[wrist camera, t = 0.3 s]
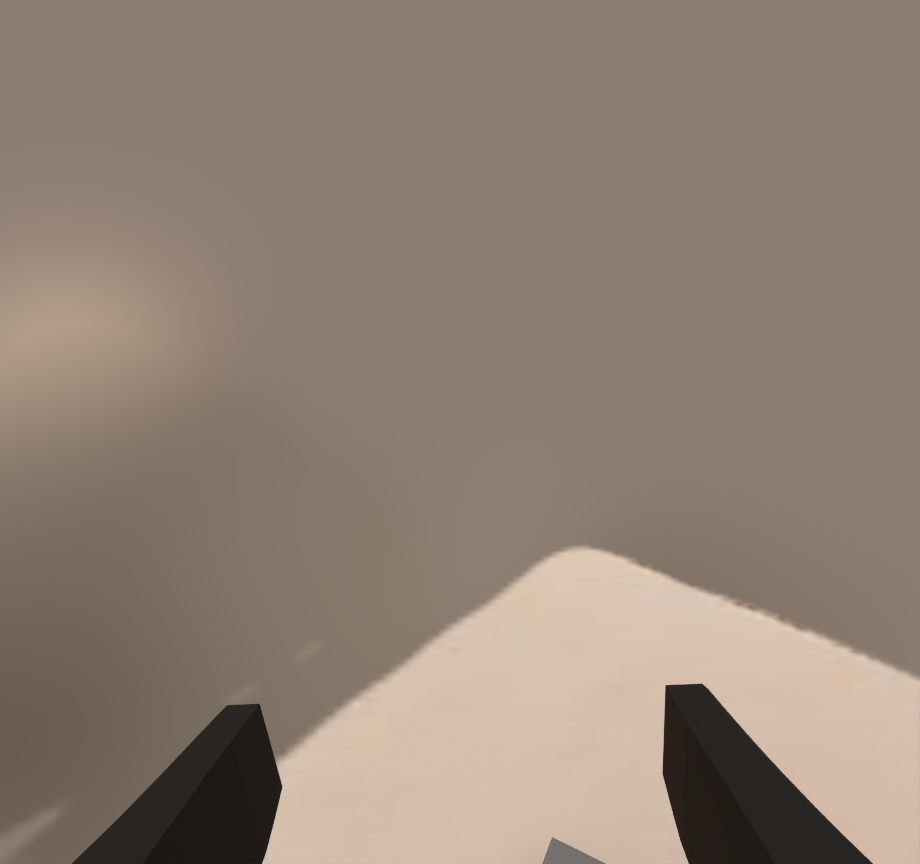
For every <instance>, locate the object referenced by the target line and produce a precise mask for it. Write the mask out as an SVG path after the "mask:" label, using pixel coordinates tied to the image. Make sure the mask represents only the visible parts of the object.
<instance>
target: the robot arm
mask: <svg viewBox="0 0 920 864" xmlns="http://www.w3.org/2000/svg"><path fill="white" fill-rule="evenodd" d="M663 777H664V780H665V784H666V788H667V792H668V796H669V800H670V803H671V807H672V811H673V815H674V818H675V822H676V826H677V829H678V833H679V837H680V840H681V843H682V846H683V849H684V852H685V854H686V857H687V860H688V863H689V864H873V863H872V862H871V861H870V860H869V859H867V858H866V857H865V856H864V855H863V854H862V853H861V852H860V851H859V850H858V849H857V848H856V847H855V846H854V845H853V844H852V843H851V842H850V841H849V840H848V839H847V838H846V837H845V836H844V835H843V834H842V833H841V832H840V831H839V830H838V829H837V828H836V827H835V826H834V825H833V824H832V823H831V822H830V821H829V820H828V819H827V818H826V817H825V816H824V815H823V814H822V813H821V812H820V811H819V810H818V809H817V808H816V807H815V806H814V805H813V804H812V803H811V802H810V801H809V800H808V799H807V798H806V797H805V796H804V795H803V794H802V793H801V792H800V791H799V790H798V789H797V787H796V786H795V785H794V784H793V783H792V782H791V781H790V780H789V779H788V778H787V777H786V776H785V775H784V774H783V773H782V772H781V771H780V770H779V769H778V767H777V766H776V765H775V764H774V763H773V762H772V761H771V760H770V759H769V758H768V757H767V756H766V754H765V753H764V752H763V751H762V750H761V749H760V748H759V747H758V746H757V744H756V743H755V742H754V741H753V740H752V739H751V738H750V737H749V736H748V734H747V733H746V732H745V731H744V730H743V729H742V728H741V727H740V725H739V724H738V723H737V722H736V721H735V720H734V719H733V717H732V716H731V715H730V714H729V713H728V712H727V710H726V709H725V708H724V707H723V706H722V705H721V703H720V702H719V701H718V700H717V699H716V698H715V696H714V695H713V694H712V693H711V692H710V691H709V689H708V688H706V687H705V686H704V685H703V684H685V685H666V691H665V720H664V750H663ZM281 790H282V784H281V780H280V777H279V773H278V769H277V766H276V762H275V758H274V755H273V751H272V747H271V744H270V740H269V737H268V733H267V729H266V726H265V722H264V718H263V715H262V711H261V707H260V704H246V705H227V706H226V707H225V708H224V709H223V710H222V711H221V712H220V713H219V714H218V715H217V716H216V717H215V718H214V719H213V720H212V721H211V722H210V723H209V725H208V726H207V727H206V728H205V729H204V730H203V731H202V732H201V733H200V734H199V735H198V736H197V737H196V738H195V740H193V741H192V743H191V744H190V745H189V746H188V747H187V748H186V749H185V750H184V751H183V752H182V753H181V754H180V755H179V756H178V757H177V758H176V759H175V760H174V762H173V763H172V764H171V765H170V766H169V767H168V768H167V769H166V770H165V771H164V772H163V773H162V774H161V775H160V776H159V778H157V779H156V781H154V782H153V784H152V785H151V786H150V787H149V788H148V789H147V790H146V791H145V792H144V793H143V794H142V795H141V796H140V797H139V798H138V799H137V800H136V801H135V802H134V803H133V804H132V805H131V806H130V807H129V808H128V809H127V810H126V811H125V813H123V814H122V815H121V816H120V817H119V818H118V820H116V821H115V822H114V823H113V824H112V825H111V826H110V827H109V828H108V829H107V830H106V831H105V832H104V833H103V834H102V835H101V836H100V837H99V838H98V839H97V840H96V841H95V842H94V843H93V844H92V845H91V846H90V847H88V848H87V849H86V851H84V852H83V853H82V854H81V855H80V856H79V857H78V858H77V859H76V860H75V861H74V862H73V863H72V864H262V862H263V859H264V857H265V854H266V850H267V847H268V843H269V839H270V835H271V831H272V828H273V824H274V820H275V815H276V811H277V807H278V803H279V799H280V794H281Z"/></svg>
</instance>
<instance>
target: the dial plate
mask: <svg viewBox="0 0 920 864" xmlns="http://www.w3.org/2000/svg"><path fill="white" fill-rule="evenodd" d="M543 864H605V863H603V862H601V861H599V860H597V859H595V858H593V857H591V856H589V855H587V854H585V853H583V852H581V851H579V850H577V849H575V848H573V847H571V846H569V845H567V844H565V843H563V842H561V841H559V840H557V839H555V838H553V837H552V839H551V842H550V844H549V847H548V850H547V853H546V855H545V858H544V861H543Z"/></svg>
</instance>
